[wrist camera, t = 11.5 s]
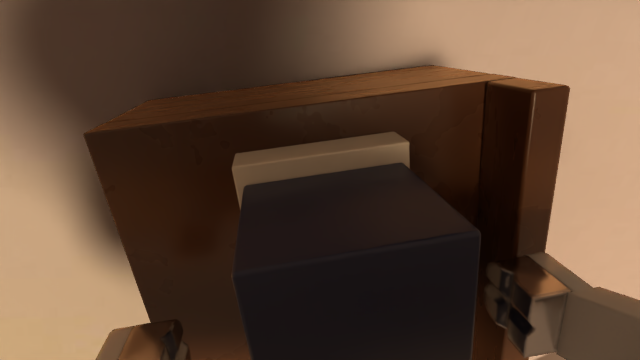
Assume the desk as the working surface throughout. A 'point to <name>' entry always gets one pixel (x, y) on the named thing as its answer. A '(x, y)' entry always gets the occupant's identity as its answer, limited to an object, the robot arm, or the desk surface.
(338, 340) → the navy stepped block
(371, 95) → the shelf
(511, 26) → the desk surface
